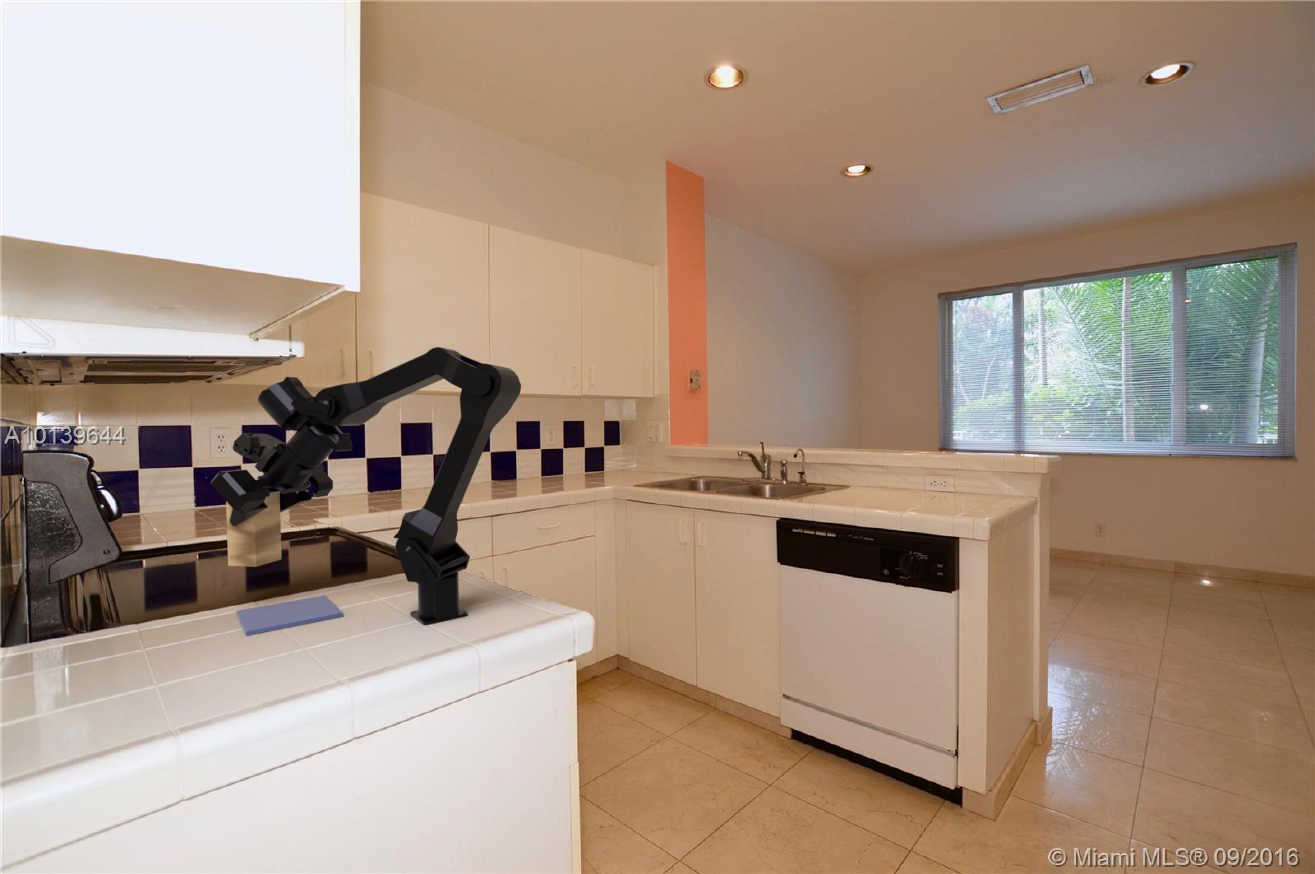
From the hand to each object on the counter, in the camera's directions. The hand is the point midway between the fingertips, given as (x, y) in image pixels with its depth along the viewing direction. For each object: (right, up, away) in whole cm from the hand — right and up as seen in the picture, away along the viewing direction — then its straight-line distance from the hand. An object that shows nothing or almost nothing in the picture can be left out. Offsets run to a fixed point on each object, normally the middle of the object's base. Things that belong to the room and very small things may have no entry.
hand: (246, 521), depth 96 cm
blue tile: (+10, -13, -6) cm, 18 cm away
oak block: (+1, -7, 0) cm, 7 cm away
